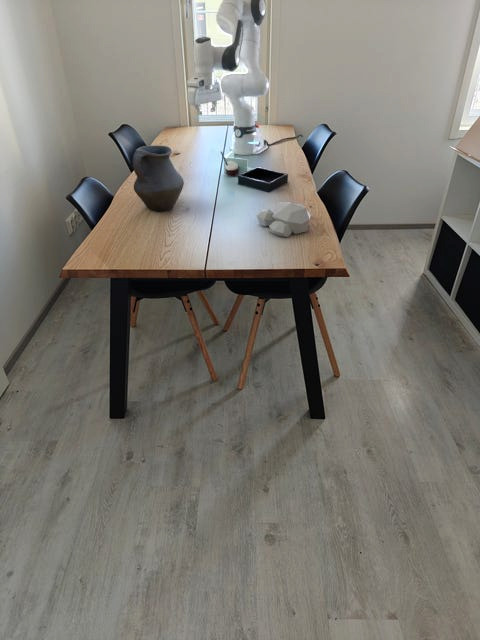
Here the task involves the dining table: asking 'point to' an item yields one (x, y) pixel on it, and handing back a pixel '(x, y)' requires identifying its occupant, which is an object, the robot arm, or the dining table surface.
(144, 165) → the pitcher
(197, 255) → the dining table surface
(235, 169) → the cocoa
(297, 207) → the rock
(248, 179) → the tray
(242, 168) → the pale cyan corner bracket
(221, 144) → the dining table surface
